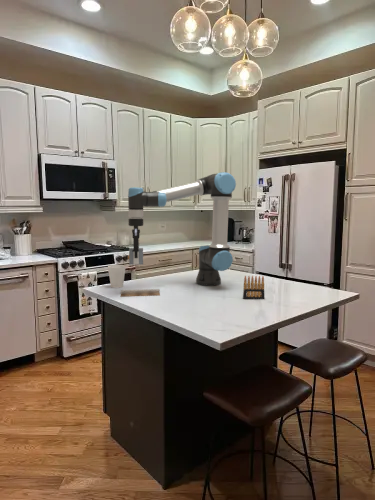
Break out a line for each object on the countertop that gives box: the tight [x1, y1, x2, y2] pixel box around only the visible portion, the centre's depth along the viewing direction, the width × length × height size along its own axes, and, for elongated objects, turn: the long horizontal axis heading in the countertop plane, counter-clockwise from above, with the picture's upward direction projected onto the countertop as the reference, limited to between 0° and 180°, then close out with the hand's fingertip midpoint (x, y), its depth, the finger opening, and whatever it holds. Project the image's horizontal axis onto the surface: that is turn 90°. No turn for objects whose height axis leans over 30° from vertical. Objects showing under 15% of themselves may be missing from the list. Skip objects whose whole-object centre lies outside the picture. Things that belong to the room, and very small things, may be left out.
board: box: [120, 292, 161, 298], centre depth 186 cm, size 20×13×2 cm, turn 98°
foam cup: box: [107, 264, 126, 289], centre depth 200 cm, size 10×9×13 cm
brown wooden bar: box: [120, 288, 161, 295], centre depth 186 cm, size 20×2×2 cm, turn 98°
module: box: [127, 247, 144, 266], centre depth 184 cm, size 8×5×8 cm, turn 97°
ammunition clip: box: [242, 275, 266, 300], centre depth 180 cm, size 11×2×12 cm, turn 89°
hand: (136, 263), depth 185 cm, fingers closed on module, 5 cm apart
